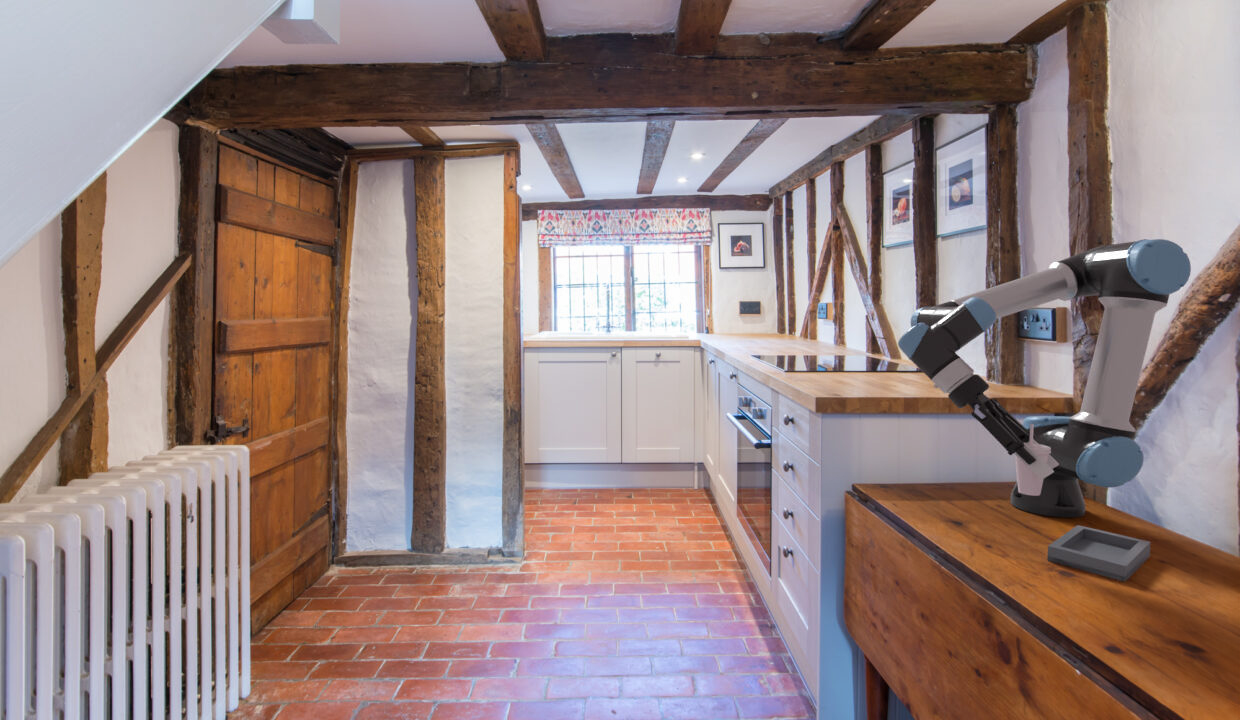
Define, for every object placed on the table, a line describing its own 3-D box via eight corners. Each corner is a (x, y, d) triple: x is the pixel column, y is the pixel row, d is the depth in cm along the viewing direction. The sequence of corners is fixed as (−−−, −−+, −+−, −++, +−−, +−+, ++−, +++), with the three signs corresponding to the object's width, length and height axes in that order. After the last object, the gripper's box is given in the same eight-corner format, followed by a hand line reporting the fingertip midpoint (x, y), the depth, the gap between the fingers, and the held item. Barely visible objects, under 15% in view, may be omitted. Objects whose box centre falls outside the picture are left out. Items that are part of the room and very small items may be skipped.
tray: (1076, 538, 129) (1077, 524, 129) (1149, 556, 119) (1150, 541, 119) (1047, 560, 118) (1048, 545, 118) (1124, 582, 108) (1126, 566, 108)
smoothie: (1042, 490, 123) (1046, 422, 122) (1053, 499, 117) (1057, 428, 116) (1006, 487, 125) (1009, 420, 124) (1015, 495, 119) (1019, 426, 118)
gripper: (958, 390, 137) (1041, 472, 127) (934, 400, 123) (1025, 493, 113) (985, 368, 133) (1073, 451, 123) (963, 377, 119) (1061, 471, 109)
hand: (1050, 471), depth 118 cm, fingers closed on smoothie, 6 cm apart
